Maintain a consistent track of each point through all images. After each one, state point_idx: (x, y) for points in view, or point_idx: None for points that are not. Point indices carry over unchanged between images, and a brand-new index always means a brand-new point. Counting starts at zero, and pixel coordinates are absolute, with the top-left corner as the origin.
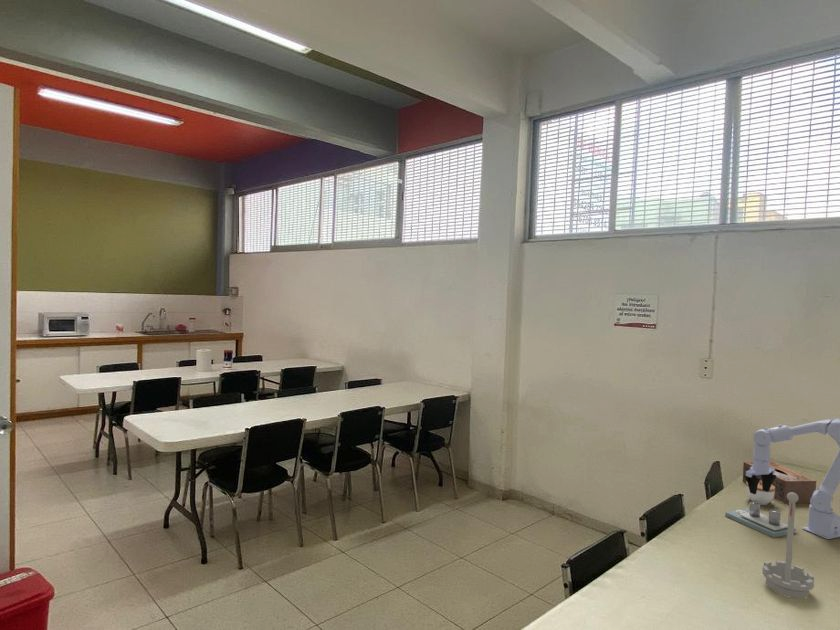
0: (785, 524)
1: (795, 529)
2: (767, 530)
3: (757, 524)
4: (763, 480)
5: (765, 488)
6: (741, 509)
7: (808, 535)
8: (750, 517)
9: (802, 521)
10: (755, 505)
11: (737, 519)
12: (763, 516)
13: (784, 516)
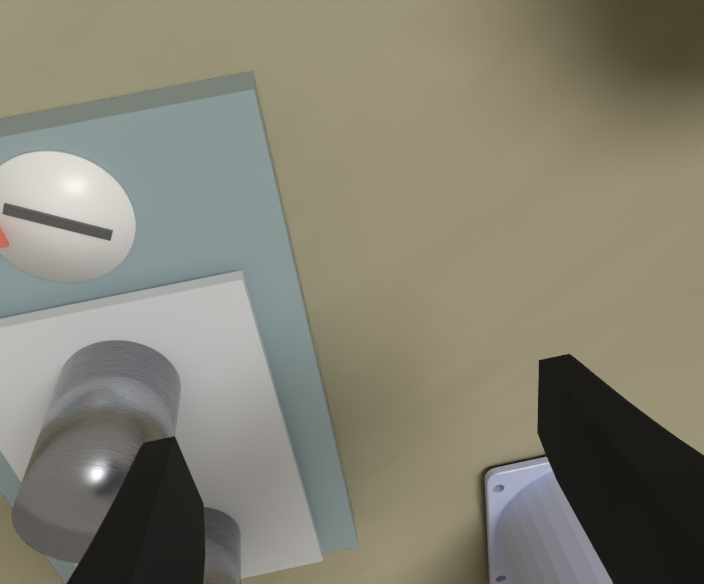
0: (299, 543)
1: (355, 542)
2: (57, 571)
3: None
4: (662, 531)
5: (562, 439)
6: (138, 122)
7: (419, 541)
8: (25, 423)
9: (662, 351)
10: (58, 547)
11: None
12: (222, 407)
13: (621, 243)
